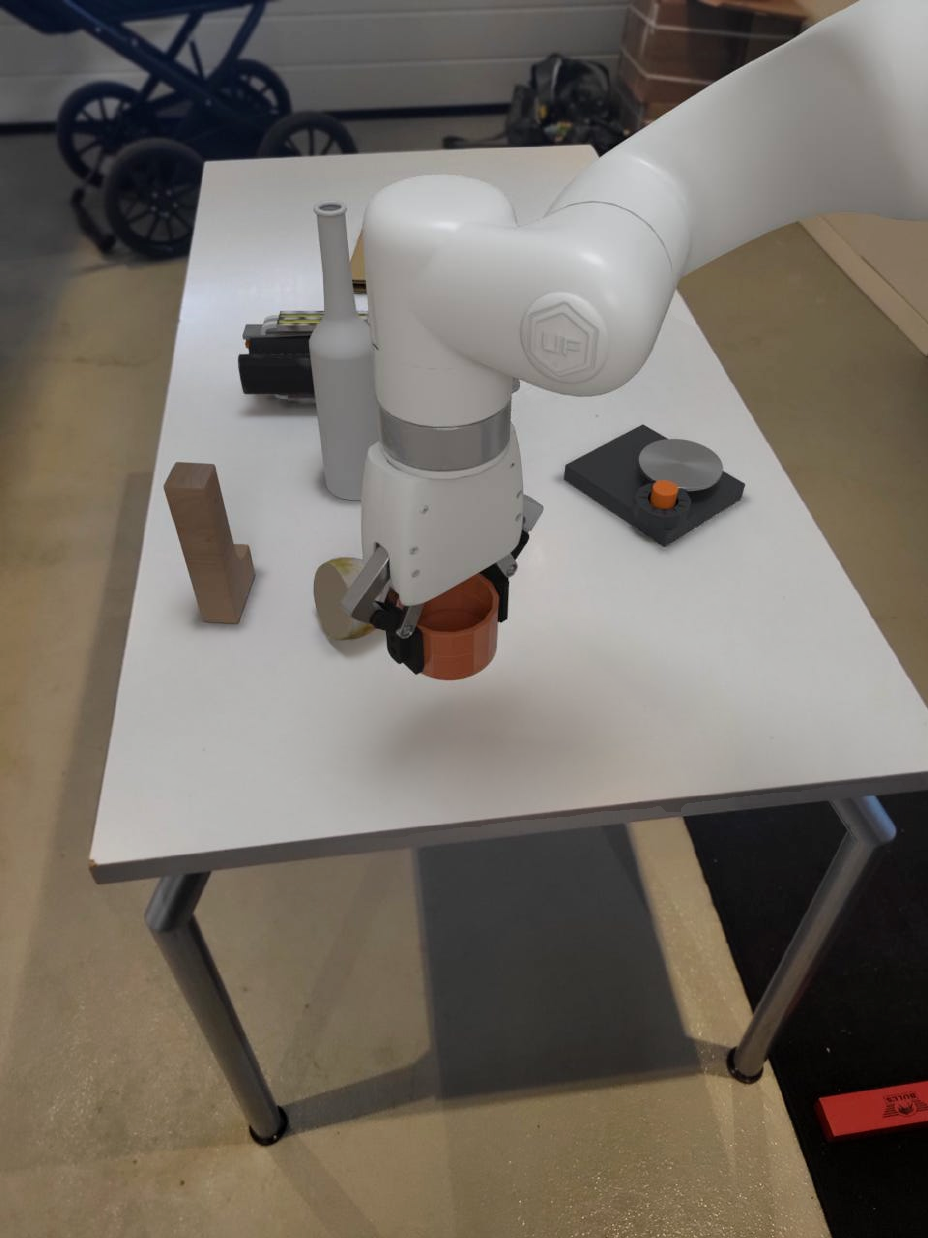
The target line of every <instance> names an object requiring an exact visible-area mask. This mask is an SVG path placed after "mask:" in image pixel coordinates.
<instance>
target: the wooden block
mask: <svg viewBox="0 0 928 1238" xmlns="http://www.w3.org/2000/svg"><path fill="white" fill-rule="evenodd" d="M162 488H163V490H164V494H165V497H166V501H167V504H168V508H169V511H170V513H171V517H172V522H173V524H174V525H173V526H174V527H175V531H176V534H177V538H178V542H179V545H180V548H181V551H182V555H183V558H184V563H185V565H186V569H187V572H188V575H189V580H190V582H191V586H192V589H193V592H194V597H195V599H196V603H197V606H198V609H199V614H200V616H201V620H202V621H203V622H208V623H211V622H212V623H222V624H223V623H225V624H238V623H239V622H240V618H241V616H242V613H243V611H244V608H245V605H246V602H247V599H248V596H249V593H250V590H251V587H252V585H253V583H254V579H255V576H256V571H255V566H254V561H253V557H252V553H251V548H250V545H249V544H244V543H242V544H241V543H234V539H233V535H232V530H231V526H230V523H229V518H228V514H227V510H226V504H225V501H224V497H223V492H222V488H221V484H220V479H219V475H218V471H217V467H216V464H215V463H204V462H203V463H202V462H185V461H176V462H174V464H173V466H172V468H171V470H170V472H169V474H168V476H167V478H166V480H165V481H164V484H163V487H162Z"/></svg>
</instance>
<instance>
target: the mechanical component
mask: <svg viewBox="0 0 928 1238" xmlns="http://www.w3.org/2000/svg"><path fill="white" fill-rule="evenodd" d="M357 313H358V315H359V316H360V317H361V318H362V319H363V320H364V321H365V322H366V323H367V324H368V325H369V326H370V323H369V311H368V310H357ZM323 316H324V310H280V311H279V314H273V315H268V316H266V317H265V318H264V319H263V322H262V323H246V324H245V326H244V330H243V332H242V335H241V337H242V340H244V341H245V342H244V345H245V349H247V350H248V353H238V356H237V370H238V375H239V380H240V386H241V390H242V393H243V394H244V395H272V396H273V397H275V398H276V399H280V400H287V402H288V404H316V399H315V390H314V382H313V374H312V365H311V357H310V348H309V339H310V337H311V335H312V333H313V331H314V329H315V328H316V326H317V325H318V324H319V323H320V321H321V320H322V318H323Z"/></svg>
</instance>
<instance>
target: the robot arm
mask: <svg viewBox="0 0 928 1238" xmlns="http://www.w3.org/2000/svg"><path fill="white" fill-rule="evenodd" d="M836 213H859V214H867V215H873V216H878V217H881V218H887V219H890V220H891V219H892V220H896V221H905V222H928V0H858V1H856V2H854V3H853V4H851V5H849V6H847V7H845V8H843V9H841V10H839V11H837V12H835V13H833V14H832V15H829V16H828V17H826V18H824V19H822V20H820V21H818V22H817V23H815V24H814V25H812V26H811V27H809V28H808V29H806V30H804V31H803V32H801V33H800V34H798V35H796V36H795V37H794V38H792V39H790V40H789V41H787V42H785V43H783V44H782V45H780V46H778V47H776V48H774V49H772V50H770V51H768V52H766V53H765V54H763V55H761V56H759V57H757V58H755V59H754V60H751V61H750V62H748V63H746V64H744V65H742V66H741V67H739V68H737V69H735V70H734V71H731V72H730V73H728V74H727V75H724V76H723V77H721V78H720V79H718V80H717V81H714V82H713V83H712V84H710V85H708V86H706V87H705V88H703V89H702V90H700V91H698V92H697V93H695V94H694V95H692V96H690V97H689V98H688V99H686V100H685V101H683V102H682V103H680V104H678V105H677V106H675V107H673V109H671V110H669V111H667V112H666V113H664V114H663V115H661V116H659V118H656V120H654V121H652V122H651V123H649V124H648V125H646V126H645V127H643V128H642V129H640V130H638V131H637V132H636V133H634V134H632V135H631V136H630V137H629V136H628V138H627V139H625V140H623V141H622V142H620V143H619V144H617V145H616V146H614V147H613V148H611V149H610V150H608V151H607V152H605V153H604V154H603V155H601V156H600V157H598V158H597V159H596V160H595V161H593V162H592V163H590V164H589V165H588V166H586V167H585V168H584V169H583V170H581V171H580V172H579V173H577V175H576V176H575V177H573V178H572V180H571V181H570V182H568V183H567V185H566V186H565V187H564V188H563V190H562V191H561V192H560V193H559V195H557V197H556V198H555V200H554V201H553V202H552V203H551V204H550V206H549V208H548V209H547V210H546V212H545V213H544V215H543V216H542V218H539V219H537V220H534V221H532V222H530V223H527V224H524V225H519V223H518V218H517V214H516V210H515V207H514V205H513V203H512V202H511V201H510V199H509V198H508V196H507V194H506V193H504V192H503V191H502V190H500V189H499V188H498V187H497V186H495V185H493V184H492V183H489V182H487V181H485V180H482V179H480V178H479V179H478V178H475V177H469V176H465V175H460V174H459V175H458V174H445V173H441V174H440V173H437V174H436V173H435V174H423V175H422V174H421V175H417V176H412V177H408V178H404V179H400V180H397V181H394V182H391V183H390V184H387V185H386V186H384V187H382V188H381V189H380V190H379V191H378V192H376V193H375V195H373V196H372V198H371V199H370V201H369V202H368V204H367V206H366V208H365V210H364V214H363V217H362V218H363V219H362V224H361V230H362V237H363V253H364V265H365V277H366V288H367V293H366V298H367V299H366V300H367V311H369V323H370V335H371V346H372V358H373V369H374V381H375V392H376V405H377V417H378V428H379V440H380V441H378V442H377V443H375V444H373V445H372V446H370V447H369V449H368V453H367V458H366V463H365V469H364V476H363V485H362V498H361V500H360V503H361V505H360V507H361V508H360V516H361V517H360V520H361V521H360V531H361V532H360V535H361V537H360V538H361V552H362V553H361V554H362V559H363V563H364V568H363V569H362V571H361V572H360V574H359V575H358V577H357V578H356V580H355V581H354V582H353V584H352V585H351V587H350V588H349V590H348V591H347V592H346V594H345V595H344V597H343V598H342V600H341V602H340V607H341V608H342V609H343V610H344V611H346V612H347V613H348V614H349V615H350V616H351V617H352V618H353V619H356V620H358V621H361V622H364V623H366V624H371V625H373V626H374V627H375V628H377V629H376V630H381V631H384V632H385V640H386V649H387V652H388V655H389V656H390V658H391V659H392V660H393V661H394V662H395V663H396V664H398V665H401V664H403V665H404V666H405V667H406V668H407V669H408V670H410V671H411V672H412V673H413V674H414V675H415V676H418V675H419V674H421V672H422V671H423V669H424V667H425V666H424V647H423V634H422V631H421V630H420V629H419V628H418V627H417V626H416V624H417V622H418V619H419V617H420V614H421V611H422V609H423V606H424V604H425V602H427V601H429V600H431V599H433V598H435V597H436V596H438V595H440V594H442V593H444V592H445V591H447V590H449V589H451V588H453V587H454V586H456V585H458V584H460V583H461V582H463V581H465V580H467V579H468V578H470V577H472V576H474V575H475V574H477V573H481V574H482V575H483V576H484V577H486V578H487V579H488V580H489V581H491V582H492V583H493V585H494V587H495V589H496V591H497V593H498V595H499V612H498V623H500V624H502V623H504V622H505V621H507V620H508V619H509V597H510V596H509V595H510V578H511V577H513V576H514V575H515V574H516V572H517V571H518V568H519V565H518V562H517V559H518V557H519V556H520V555H521V553H522V552H523V550H524V548H525V547H526V545H527V544H528V543H529V540H530V532H531V531H532V530H533V529H534V527H535V526H536V524H537V522H538V520H539V519H540V518H541V515H542V514H543V512H544V505H543V504H542V503H540V502H539V501H537V500H535V499H534V498H533V497H531V496H529V495H527V494H524V477H523V476H524V475H523V464H522V456H521V450H520V443H519V440H518V435H517V431H516V427H515V426H514V423H513V422H512V421H511V420H512V400H513V399H512V396H513V395H512V394H514V393H516V392H518V391H519V390H520V388H521V381H522V382H524V383H526V384H529V385H532V386H534V387H537V388H539V389H542V390H545V391H548V392H552V393H555V394H559V395H563V396H571V397H576V398H577V397H578V398H590V397H591V398H592V397H597V396H602V395H606V394H609V393H612V392H614V391H616V390H618V389H621V388H622V387H623V386H625V385H626V384H628V383H630V381H631V380H632V379H633V378H634V377H635V376H637V374H638V373H639V372H640V371H641V369H642V368H643V367H644V366H645V364H646V363H647V361H648V359H649V358H650V356H651V354H652V352H653V350H654V347H655V345H656V342H657V340H658V337H659V335H660V332H661V330H662V327H663V324H664V322H665V319H666V316H667V314H668V311H669V308H670V305H671V304H672V301H673V298H674V296H675V292H676V290H677V288H678V285H679V282H680V281H681V280H682V279H683V278H685V277H686V276H688V275H689V274H691V273H693V272H694V271H696V270H698V269H700V268H702V267H704V266H705V265H707V264H709V263H711V262H713V261H714V260H717V259H718V258H720V257H722V256H724V255H726V254H727V253H729V252H731V251H733V250H736V249H738V248H739V247H742V246H744V245H745V244H747V243H750V242H751V241H754V240H755V239H759V238H760V237H762V236H763V235H766V234H768V233H770V232H773V231H775V230H778V229H780V228H783V227H785V226H788V225H790V224H794V223H796V222H800V221H803V220H806V219H811V218H814V217H817V216H818V217H819V216H823V215H830V214H836ZM382 589H383V590H382ZM381 591H382V593H381V596H380V599H379V601H376V600H375V599H376V598H377V596H378V595H379V593H380V592H381ZM399 598H400V602H401V603H402V604H403V605H404V607H403V610H401V609H400V608H399V607H396V605H397V602H398V599H399Z"/></svg>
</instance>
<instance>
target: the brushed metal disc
mask: <svg viewBox="0 0 928 1238" xmlns="http://www.w3.org/2000/svg"><path fill="white" fill-rule="evenodd" d="M638 465H639V468H640V470H641V472H642V473H643V474H644V476H645V477H647V478H648V479H649V480H650V481H652V482H653V483H655V482H657V481H661V480H667V481H671V482H673V483H674V484H676V485H677V487H678V491H698V490H703V489H706V488H709V487H711V486H713V485H714V484H716V483H717V482H718V481H719V479H720V478H721V476H722V473H723V471H724V464H723V462H722V459H721V457H719V455H718V454H717V453H715V451H713V450H712V449H710V448H709V447H707V446H706V445H703V444H701V443H699V442H696V441H692V440H688V439H681V438H668V439H665V440H659V441H656V442H653V443H651V444H649V445H647V446H646V447H645V448H644V449H643V450H642V451H641V453H640V455H639V459H638Z"/></svg>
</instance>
